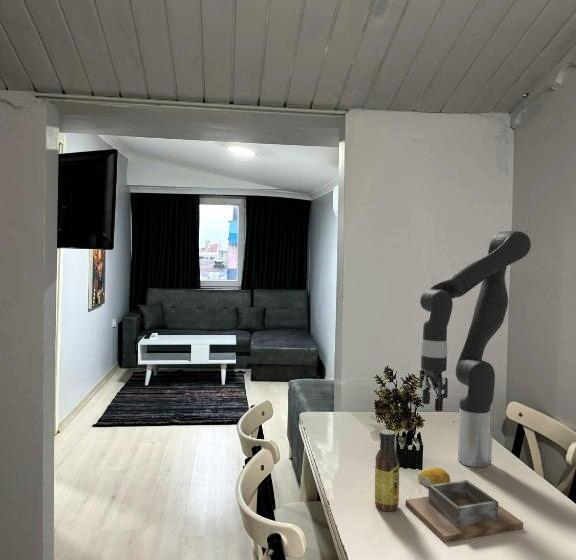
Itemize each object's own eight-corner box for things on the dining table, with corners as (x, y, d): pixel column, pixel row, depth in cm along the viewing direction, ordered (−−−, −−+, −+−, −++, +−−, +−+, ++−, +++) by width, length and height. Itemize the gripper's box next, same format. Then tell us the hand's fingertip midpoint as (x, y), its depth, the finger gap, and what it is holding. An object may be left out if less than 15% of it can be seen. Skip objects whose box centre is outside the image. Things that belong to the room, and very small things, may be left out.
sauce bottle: (398, 513, 131) (400, 437, 130) (374, 511, 133) (375, 435, 131) (398, 501, 138) (399, 429, 137) (374, 499, 139) (376, 427, 138)
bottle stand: (476, 494, 142) (476, 473, 142) (523, 528, 125) (524, 504, 124) (405, 505, 136) (405, 483, 135) (444, 542, 118) (445, 517, 118)
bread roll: (455, 484, 149) (456, 470, 148) (434, 491, 144) (434, 478, 144) (433, 473, 156) (433, 460, 155) (412, 480, 151) (412, 467, 151)
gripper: (457, 358, 150) (454, 413, 151) (434, 351, 164) (432, 401, 165) (433, 358, 149) (431, 414, 149) (412, 351, 163) (410, 401, 163)
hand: (432, 407), depth 157 cm, fingers open, 8 cm apart
